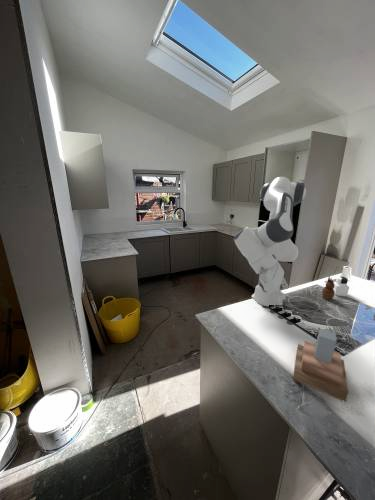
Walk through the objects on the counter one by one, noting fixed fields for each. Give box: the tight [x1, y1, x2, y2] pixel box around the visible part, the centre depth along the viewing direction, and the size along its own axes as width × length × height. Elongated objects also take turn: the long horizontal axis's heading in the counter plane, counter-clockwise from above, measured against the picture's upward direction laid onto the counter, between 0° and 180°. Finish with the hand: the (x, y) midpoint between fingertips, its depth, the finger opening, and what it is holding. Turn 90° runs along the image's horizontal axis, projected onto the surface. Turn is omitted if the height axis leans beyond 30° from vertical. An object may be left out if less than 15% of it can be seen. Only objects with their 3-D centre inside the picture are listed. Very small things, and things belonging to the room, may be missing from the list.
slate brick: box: [314, 327, 337, 364], centre depth 75 cm, size 5×5×10 cm
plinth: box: [292, 340, 349, 402], centre depth 78 cm, size 16×16×8 cm
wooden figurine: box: [321, 276, 335, 301], centre depth 132 cm, size 7×6×15 cm
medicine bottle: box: [333, 275, 350, 297], centre depth 138 cm, size 7×7×12 cm
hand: (285, 293), depth 79 cm, fingers open, 8 cm apart
